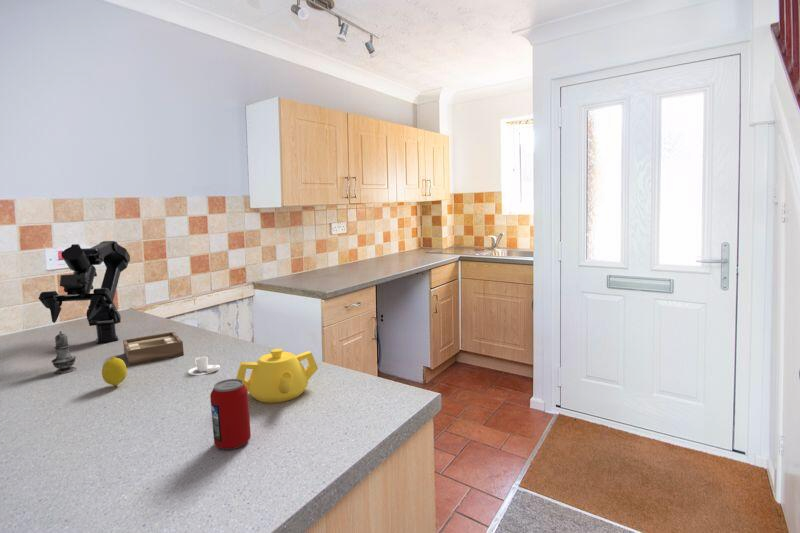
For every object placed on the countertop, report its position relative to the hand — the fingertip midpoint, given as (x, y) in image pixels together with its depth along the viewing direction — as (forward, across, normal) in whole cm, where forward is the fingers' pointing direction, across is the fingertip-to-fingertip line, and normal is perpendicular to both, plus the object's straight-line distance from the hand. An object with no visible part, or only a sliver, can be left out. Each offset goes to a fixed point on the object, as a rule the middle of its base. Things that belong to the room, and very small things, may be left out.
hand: (70, 320), depth 137 cm
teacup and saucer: (+26, +40, -6) cm, 48 cm away
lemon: (+27, +19, -8) cm, 34 cm away
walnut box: (+8, +21, +10) cm, 25 cm away
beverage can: (+56, +53, -37) cm, 85 cm away
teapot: (+41, +62, -22) cm, 77 cm away
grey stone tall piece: (+15, 0, +4) cm, 15 cm away
